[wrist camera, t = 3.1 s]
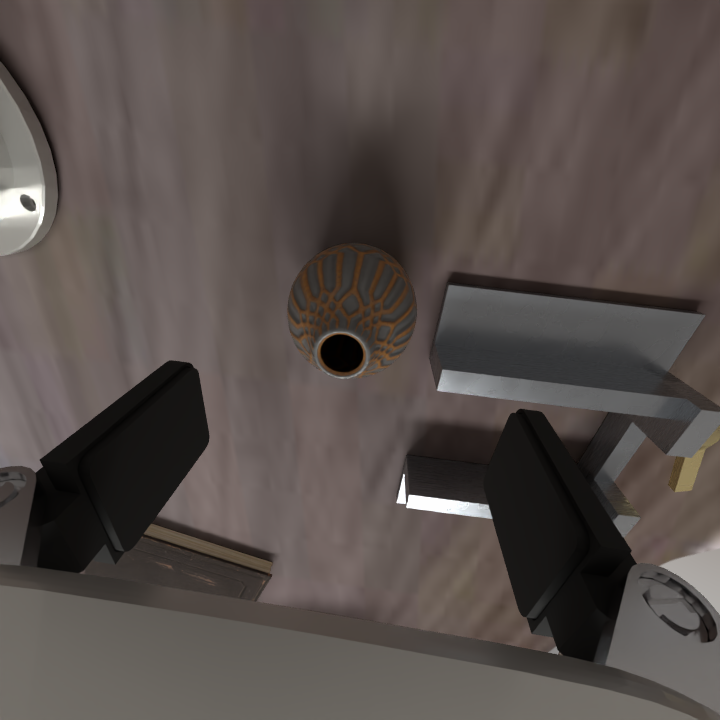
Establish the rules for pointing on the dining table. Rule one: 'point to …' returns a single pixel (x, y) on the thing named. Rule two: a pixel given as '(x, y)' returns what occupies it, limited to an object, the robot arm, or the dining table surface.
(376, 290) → the vase
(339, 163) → the dining table surface
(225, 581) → the hardcover book
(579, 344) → the bracket
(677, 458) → the brass key
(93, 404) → the dining table surface
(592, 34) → the dining table surface
